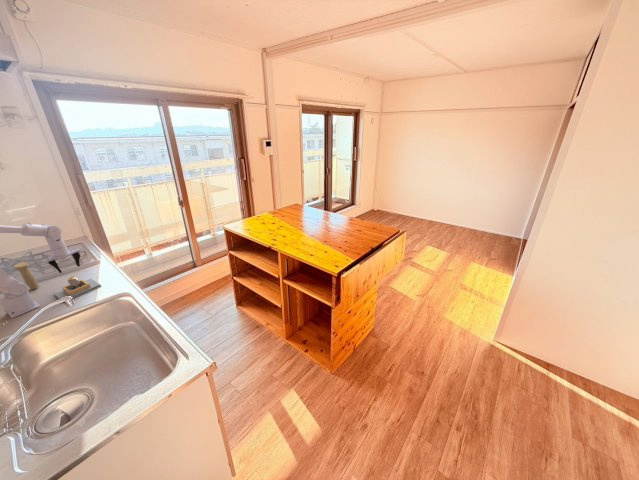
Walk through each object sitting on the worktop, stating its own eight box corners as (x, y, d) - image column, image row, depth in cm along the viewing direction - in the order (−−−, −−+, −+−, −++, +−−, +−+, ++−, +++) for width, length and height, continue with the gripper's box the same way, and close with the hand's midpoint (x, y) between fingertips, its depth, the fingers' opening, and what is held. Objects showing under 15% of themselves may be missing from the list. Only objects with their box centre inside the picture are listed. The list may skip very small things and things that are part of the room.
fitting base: (63, 302, 126) (60, 297, 124) (54, 295, 131) (51, 290, 130) (101, 286, 138) (98, 281, 137) (91, 280, 144) (89, 275, 142)
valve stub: (74, 291, 132) (68, 281, 129) (71, 289, 134) (65, 279, 131) (83, 287, 135) (78, 277, 132) (80, 285, 137) (75, 275, 134)
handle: (30, 292, 134) (15, 268, 127) (27, 288, 137) (13, 264, 131) (42, 288, 137) (28, 264, 131) (39, 284, 141) (26, 261, 134)
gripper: (73, 240, 139) (83, 261, 144) (36, 250, 127) (49, 273, 133) (78, 242, 135) (88, 264, 141) (41, 254, 124) (54, 277, 130)
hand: (69, 269), depth 137 cm, fingers open, 7 cm apart
